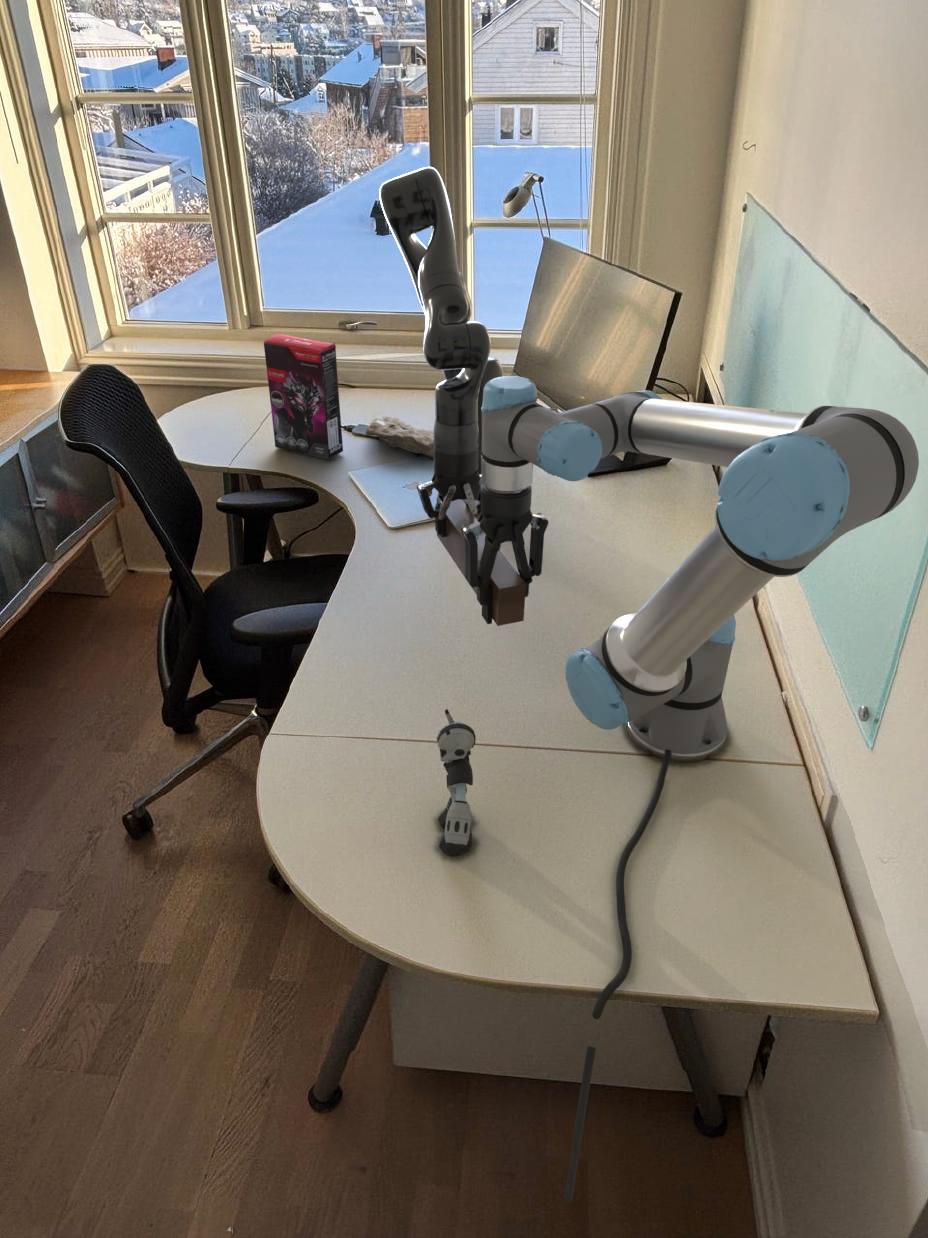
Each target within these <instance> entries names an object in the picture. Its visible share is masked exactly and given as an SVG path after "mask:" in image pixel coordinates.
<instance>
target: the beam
mask: <svg viewBox="0 0 928 1238" xmlns="http://www.w3.org/2000/svg"><path fill="white" fill-rule="evenodd" d="M445 519H446V537H443V538H441V536H440V535H438V533H437V532H436V537H437V538H438V539H439V542H440V543H441V544H442V546H443V547H444V549H445V550H446V551H447V553H448V554H449V556H450V558H451V559H452V561H453V562H454V563H455V565H456V567H457V568H458V570H459V571H460V572H461V574H462V575H463V577H464V578H465V537H464V535H463V533H462V530H461V527H462V526H463V525H465V524H466V525H468V526H470V525H472V524H474V523H476V522H478V518H477V517H476V518H475V516H474V515H473V514H472V512H471V511H470V510H469V508H468V507H467V506H466V504H465V503H464V502H463V501H462V500H460V499H457V500H455V501H451V504H450V507H449V508H448V509H447V512H446V515H445ZM485 536H486V534H485V532H484V531H483V530H480V532H479V539H477V544H478V568H479V565H480V561H481V557H482V553H483V549H484V545H485ZM489 584H490V585H491V587H492V588H493V602H492V621H493V622H494V623H495V625H496V627H501V626H505V625H510V624H515V623H520V622H524V621H525V605H526V597H525V592H526V583H525V582H524V581H523V579H522V578H521V577H520V575H519V573H518V571H517V570H516V569H515V568H514V566H513V565H512V564H511V562H510V561H509V559H508V558H507V557H506V556H505V555H504V553H503V551H501V549H500V550H499V551H498V552H497V555H496V559H495V563H494V566H493V570H492V574H491V578H490V581H489ZM471 589H472V590H473V592H474V594H476V596H477V587H474V588H472V587H471Z"/></svg>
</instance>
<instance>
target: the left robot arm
mask: <svg viewBox="0 0 928 1238" xmlns="http://www.w3.org/2000/svg"><path fill="white" fill-rule="evenodd" d="M379 201H380V205H381V208H382V211H383V214H384V217H385V219H386V221H387V224H388V226H389V229H390V231H391V233H392V235H393V237H394V239H395V241H396V244H397V247H398V248H399V250H400V253H401V254H402V256H403V259H404V261H405V264H406V266H407V268H408V271H409V274H410V276H411V279H412V283H413V285H414V288H415V291H416V295H417V297H418V301H419V303H420V306H421V309H422V311H423V314H424V316H425V329H424V335H423V336H424V337H423V347H422V348H423V356H424V359H425V362H426V363H427V364H428V365H429V367H431V368H432V369H433V370H437V371H443V374H444V379H445V380H443V381H441V382H439V383H438V384H437V385H436V387H435V390H434V426H433V431H434V457H433V475H432V478H431V479H430V481H428V482H426V483H422V482H419V483H417V484H416V491H417V493H418V496H419V499H420V502H421V505H422V508H423V511H424V512H425V513H426V515H427V517H428V518H429V519H434V529H435V532H436V534H437V533H438V535H440V536H441V538H443V537H446V519H445V515H446V512H447V509H448V508H449V507H450V504H451V501H455V500H457V499H460V500H462V501H463V502H464V503H465V504H466V506H467V507H468V508H469V510H470V511H471V512H472V514H473V515H474V516H475V518H476V519H477V515H478V512H481V485H482V484H483V483H482V481H481V464H482V412H481V408H482V403H483V391H484V387H485V385H486V383H487V382H488V381H490V380H492V379H494V378H498V377H502V376H504V370H503V366H502V363H501V361H500V360H498V359H497V358H494V357H490V354H491V346H492V345H491V344H492V342H491V335H490V332H489V330H488V329H487V327H486V326H485V325H484V324H483V323H482V322H480V321H475V320H473V321H471V318H472V313H473V304H472V299H471V296H470V293H469V290H468V287H467V284H466V281H465V278H464V276H463V274H462V273H461V272H460V268H459V264H458V256H457V248H456V237H455V231H454V224H453V218H452V211H451V206H450V205H451V204H450V200H449V197H448V193H447V190H446V187H445V184H444V181H443V179H442V177H441V175H440V173H439V171H438V170H437V169H436V168H435V167H432V166H427V167H422V168H419V169H417V170H413V171H411V172H408V173H405V174H402V175H400V176H397V177H394V178H392V179H389V180H387V181H385V182H383V183H382V184H381V186H380V188H379ZM431 228H432V233H431V237H430V240H429V242H428V245H427V247H426V246H425V244H423V242H421V241H420V239H419V238H418V237H417V235H416V234H417V233H420V232H423V231H425V230H429V229H431ZM433 489H435V490H436V492H437V495H436V502H435V506H433V503H432V501H431V496H432V495H433Z"/></svg>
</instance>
